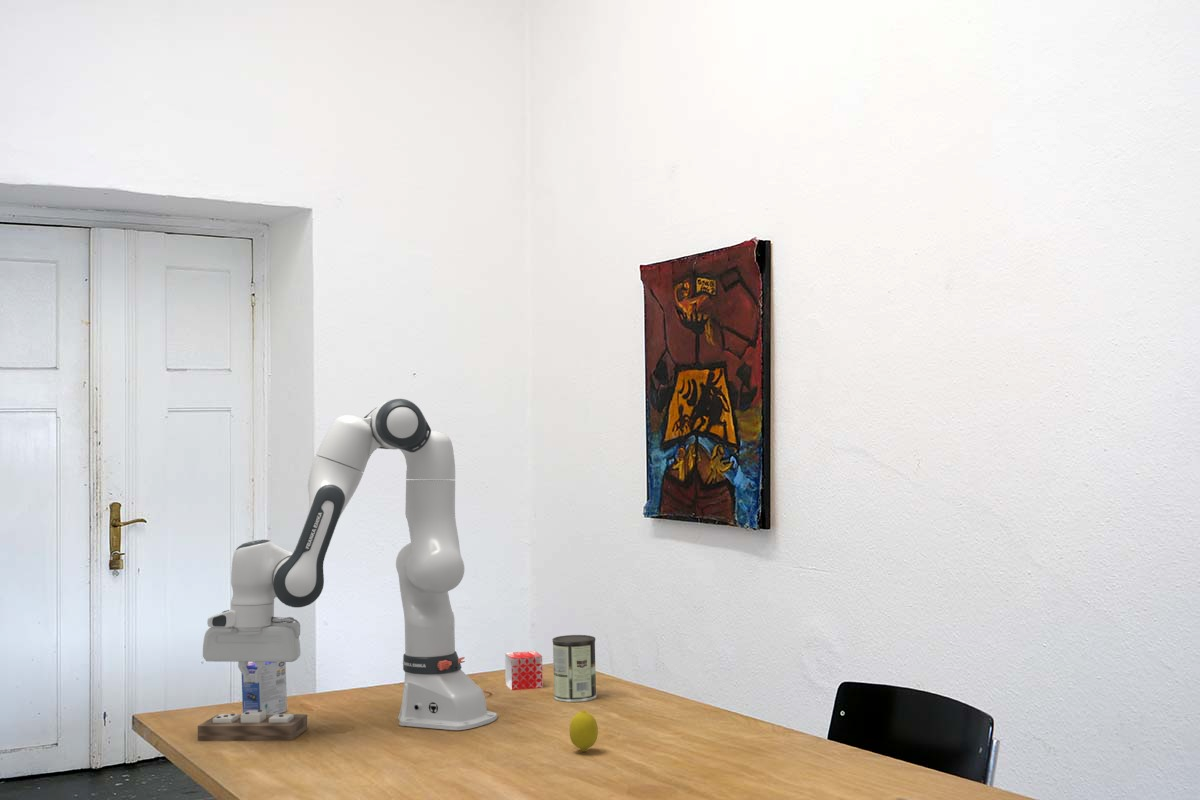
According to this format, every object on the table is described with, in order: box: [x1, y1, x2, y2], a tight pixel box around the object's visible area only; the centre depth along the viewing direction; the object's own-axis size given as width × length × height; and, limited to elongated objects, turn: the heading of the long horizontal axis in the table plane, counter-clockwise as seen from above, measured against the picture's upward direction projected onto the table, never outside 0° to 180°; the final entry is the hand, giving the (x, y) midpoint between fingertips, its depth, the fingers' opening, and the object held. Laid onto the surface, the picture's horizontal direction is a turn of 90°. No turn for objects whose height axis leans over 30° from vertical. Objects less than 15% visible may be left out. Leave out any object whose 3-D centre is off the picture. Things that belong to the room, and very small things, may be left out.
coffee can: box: [551, 634, 597, 703], centre depth 267 cm, size 10×10×14 cm
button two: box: [240, 710, 266, 723], centre depth 237 cm, size 4×4×3 cm
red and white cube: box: [504, 650, 544, 691], centre depth 281 cm, size 8×8×8 cm
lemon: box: [569, 709, 599, 753], centre depth 218 cm, size 6×6×8 cm
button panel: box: [197, 713, 308, 742], centre depth 237 cm, size 20×10×3 cm, turn 87°
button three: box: [213, 713, 240, 723], centre depth 237 cm, size 4×4×3 cm
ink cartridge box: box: [241, 662, 288, 715], centre depth 254 cm, size 10×6×14 cm, turn 159°
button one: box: [269, 713, 294, 723], centre depth 236 cm, size 4×4×3 cm
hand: (251, 682), depth 237 cm, fingers closed
